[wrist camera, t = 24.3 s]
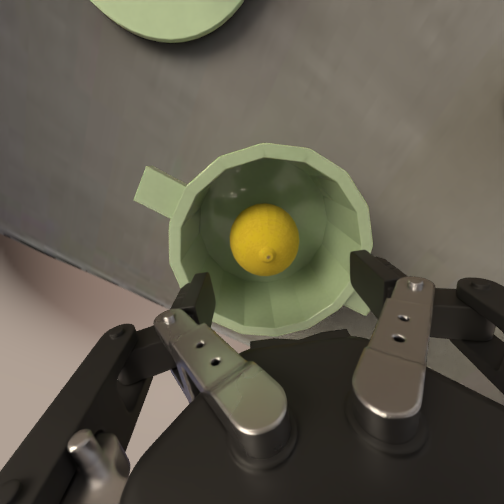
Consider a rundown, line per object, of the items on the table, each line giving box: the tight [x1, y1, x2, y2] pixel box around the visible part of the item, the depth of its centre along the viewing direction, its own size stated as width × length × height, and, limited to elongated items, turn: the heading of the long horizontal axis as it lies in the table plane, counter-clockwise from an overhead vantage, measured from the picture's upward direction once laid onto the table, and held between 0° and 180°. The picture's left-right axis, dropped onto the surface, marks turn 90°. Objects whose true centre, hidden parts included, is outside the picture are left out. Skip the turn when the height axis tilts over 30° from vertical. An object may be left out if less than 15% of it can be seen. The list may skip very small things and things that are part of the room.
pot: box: [134, 143, 373, 337], centre depth 20 cm, size 14×19×8 cm
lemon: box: [230, 203, 299, 276], centre depth 20 cm, size 6×6×8 cm
